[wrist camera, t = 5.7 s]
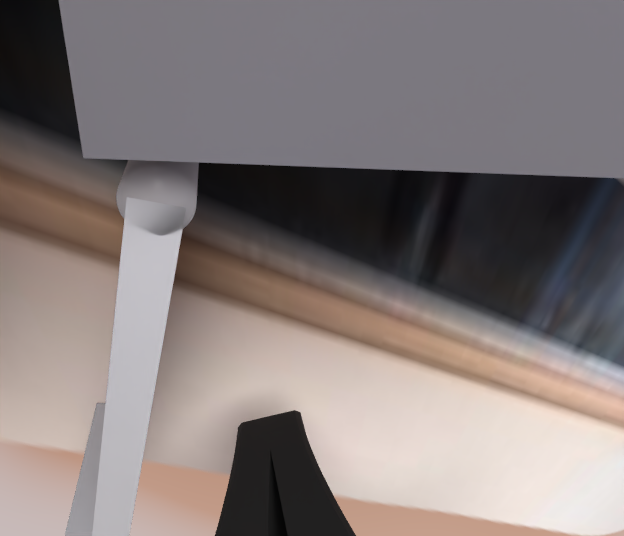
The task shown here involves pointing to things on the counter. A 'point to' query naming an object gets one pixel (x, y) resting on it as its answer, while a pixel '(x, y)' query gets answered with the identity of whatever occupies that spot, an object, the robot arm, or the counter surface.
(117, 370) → the side door
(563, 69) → the block
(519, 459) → the counter surface
